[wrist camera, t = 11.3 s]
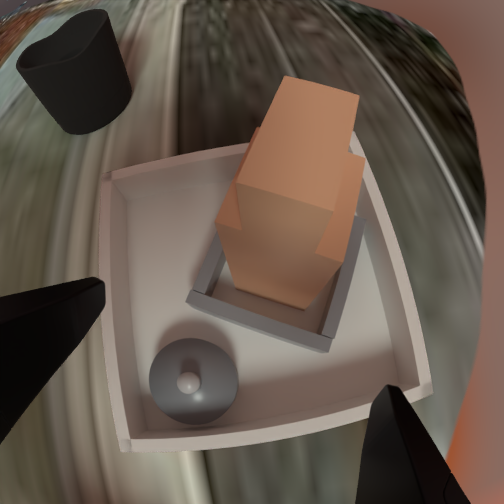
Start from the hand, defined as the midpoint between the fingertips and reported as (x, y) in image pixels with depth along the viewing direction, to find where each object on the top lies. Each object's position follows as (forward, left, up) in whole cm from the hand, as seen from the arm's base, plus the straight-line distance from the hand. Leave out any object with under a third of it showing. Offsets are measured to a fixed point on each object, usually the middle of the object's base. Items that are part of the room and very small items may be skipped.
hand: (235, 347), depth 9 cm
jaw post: (+5, -3, -11) cm, 12 cm away
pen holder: (+26, +12, -12) cm, 31 cm away
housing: (+4, -1, -12) cm, 12 cm away
